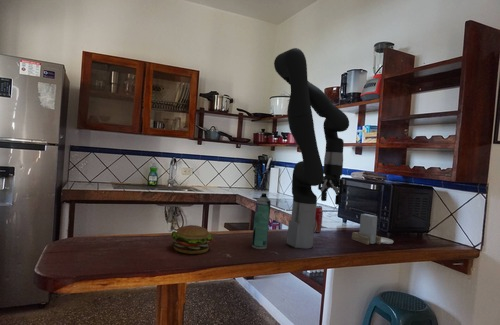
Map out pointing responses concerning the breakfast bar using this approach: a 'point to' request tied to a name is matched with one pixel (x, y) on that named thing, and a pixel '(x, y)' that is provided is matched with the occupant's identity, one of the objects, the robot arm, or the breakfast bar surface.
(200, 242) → the food
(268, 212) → the spray can
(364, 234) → the skincare box
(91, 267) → the breakfast bar surface
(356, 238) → the holder
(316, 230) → the soda can
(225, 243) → the breakfast bar surface
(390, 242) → the coaster
